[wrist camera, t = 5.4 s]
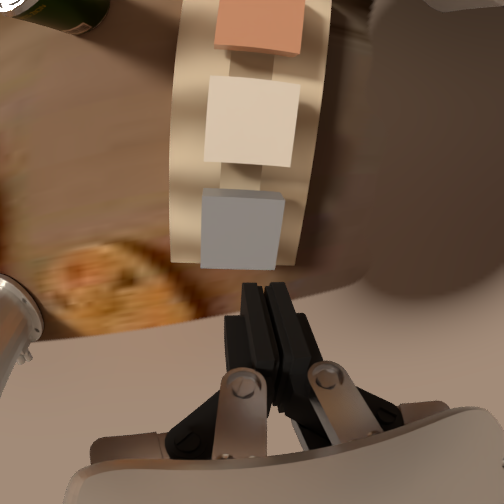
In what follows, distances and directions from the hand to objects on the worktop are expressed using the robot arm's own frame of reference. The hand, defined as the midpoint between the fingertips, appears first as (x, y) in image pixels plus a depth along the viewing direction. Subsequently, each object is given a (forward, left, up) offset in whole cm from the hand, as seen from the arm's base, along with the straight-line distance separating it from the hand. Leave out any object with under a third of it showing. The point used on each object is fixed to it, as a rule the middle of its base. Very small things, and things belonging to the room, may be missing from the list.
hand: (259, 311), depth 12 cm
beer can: (+18, +16, -18) cm, 30 cm away
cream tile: (+7, 0, -14) cm, 16 cm away
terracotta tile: (+15, 0, -15) cm, 22 cm away
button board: (+7, 0, -18) cm, 19 cm away
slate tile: (-2, 0, -14) cm, 15 cm away
